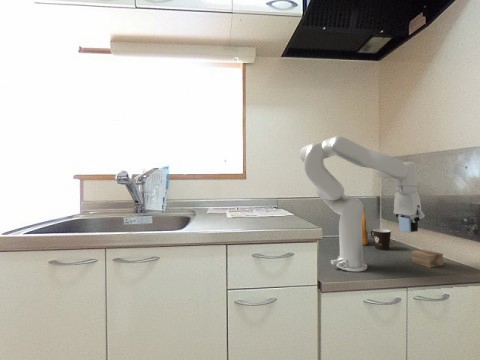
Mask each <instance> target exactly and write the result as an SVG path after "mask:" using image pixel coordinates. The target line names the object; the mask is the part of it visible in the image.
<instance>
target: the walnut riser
mask: <svg viewBox="0 0 480 360" xmlns="http://www.w3.org/2000/svg"><path fill="white" fill-rule="evenodd" d="M411 253H412V255H411V258H412V259H411V260H412V263H414V264H417V265H421V266H423V267H426V268H435V267H439V266H441V267H442V266H443V265H444V255H443V253H441V252H438V251H433V250H429V249H427V248H425V249H424V248H423V249H417V250H412V251H411Z"/></svg>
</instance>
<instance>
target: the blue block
mask: <svg viewBox="0 0 480 360" xmlns="http://www.w3.org/2000/svg"><path fill="white" fill-rule="evenodd" d="M414 218H415V217H414ZM411 222H412V220H411V216H406V215H405V217H399V220H398V229H399V231H401V232H405V233H413V232H412V231H411ZM415 232H418V231H415ZM415 232H414V233H415Z"/></svg>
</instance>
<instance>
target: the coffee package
mask: <svg viewBox="0 0 480 360" xmlns="http://www.w3.org/2000/svg"><path fill="white" fill-rule="evenodd" d="M363 208H364V211H363V218H362V244H363V246H366V245H367V244H369V242H368V241H369V240H368V238H369V237H368V235H369V233H368V231H367V221H366V210H365V206H363Z"/></svg>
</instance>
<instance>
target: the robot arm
mask: <svg viewBox="0 0 480 360" xmlns="http://www.w3.org/2000/svg"><path fill="white" fill-rule="evenodd" d="M334 156H337V157H338V158H339V159H340V158H341V159H343V160H345V161H346V162H348V163H351V164H352V165H355V166H357V167H360V168H367V169H373V170H375V173H376V176H378V177H379V178H380V179H382V180H396V187H395V190H397V191H396V192H395V194H394V200H393V211H392V213H393V215H394V216H395V217H396V218H397V220H398V221H399V217H405V216H409V217H411V220H412V222H411V231H412V232H411V233H415V231H417V232H419V225H418V224H419V223H420V221H421V220H422V219H423V218H424V217H425V213H424V212H423V211H422V205H421V204H422V203H421V199H420V194H419V192H418V185H417V184H418V182H417V180H418V179H417V178H418V177H417V163H416V162H414V161H404V162H402V161H401V160H400V159H397V158H396V157H394V156H391V155H389V154H386V153H382V152H380V151H377V150H373V149H370V148H367V147H364V146H363V145H360V144H358V143H357V142H354V141H353V140H351V139H349V138H346V137H344V136H342V135H335V136H333V137H330V138H327V139H324V140H320V141H319V142H313V143H309V144H307V145H305V146H303V147H302V148H301V149H300V151H299V158H300V160H301V161H302V162H303V164H304V165H303V166H304V171H305V175H306V176H307V178H308V179H309V180H310V181H311V183H312V184H313V185H314V186H315V191H316V194H317V196H318V198H320V200H322V201H323V202H324V203H325V204H326V206H328V207H329V208H330V209H331V210H332V211H333V212H334V213H335V214H338V215H340V218H339V221H338V233H339V234H338V235H339V237H338V240H339V241H338V242H339V244H338V245H339V255H338V256H337V258H336V259H331V260H330V264H331V265H336V267H337V268H338V269H340V270H344V271H348V272H364V271H366V270H367V269H368V265H367V263H365V262H364V254H363V251H364V249H363V247H364V245H363V244H362V218H363V211H364V210H365V207H364V204H363V203H362V201H361V200H360V199H359V198H357V197H355V196H353V195H352V196H351V195H346V194H345V188H344V185H343V184H342V183H341V182H340V181H339V180H338V179H337V178H336V177H335V176H334V175H333V174H332V173H331V172H330V171H329V170H328V168H327V167H326V166H325V163H324V162H325V161H324V160H325V159H327V158H331V157H334ZM363 207H364V208H363ZM414 217H415V218H414Z"/></svg>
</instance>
